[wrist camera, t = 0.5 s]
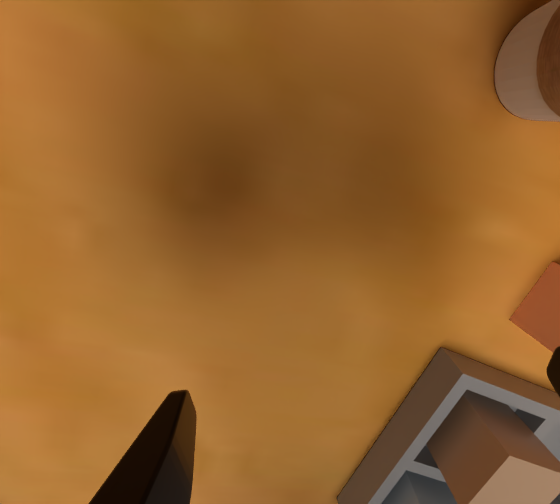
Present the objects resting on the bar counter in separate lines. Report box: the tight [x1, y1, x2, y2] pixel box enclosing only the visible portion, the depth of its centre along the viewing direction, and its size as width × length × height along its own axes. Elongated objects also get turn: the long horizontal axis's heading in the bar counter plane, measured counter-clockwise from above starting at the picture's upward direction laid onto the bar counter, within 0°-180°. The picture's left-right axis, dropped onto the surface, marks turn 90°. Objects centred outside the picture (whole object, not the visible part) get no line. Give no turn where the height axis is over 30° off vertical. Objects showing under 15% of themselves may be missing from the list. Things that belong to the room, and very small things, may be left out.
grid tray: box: [337, 347, 560, 504], centre depth 26 cm, size 17×17×7 cm
